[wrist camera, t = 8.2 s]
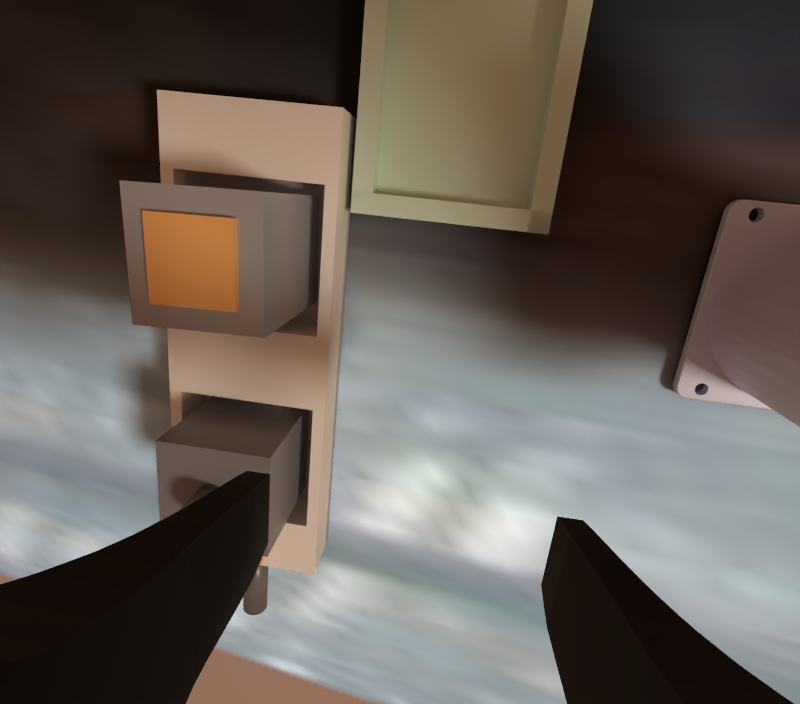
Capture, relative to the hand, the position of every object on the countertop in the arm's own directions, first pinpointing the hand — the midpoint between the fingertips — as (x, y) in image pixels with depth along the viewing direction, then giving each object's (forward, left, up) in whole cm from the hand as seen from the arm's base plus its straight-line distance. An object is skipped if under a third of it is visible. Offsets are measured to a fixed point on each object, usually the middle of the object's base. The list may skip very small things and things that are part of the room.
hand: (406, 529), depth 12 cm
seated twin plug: (+8, +4, -10) cm, 13 cm away
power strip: (+8, +1, -10) cm, 13 cm away
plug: (+7, -5, -10) cm, 14 cm away
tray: (0, -12, -10) cm, 16 cm away
